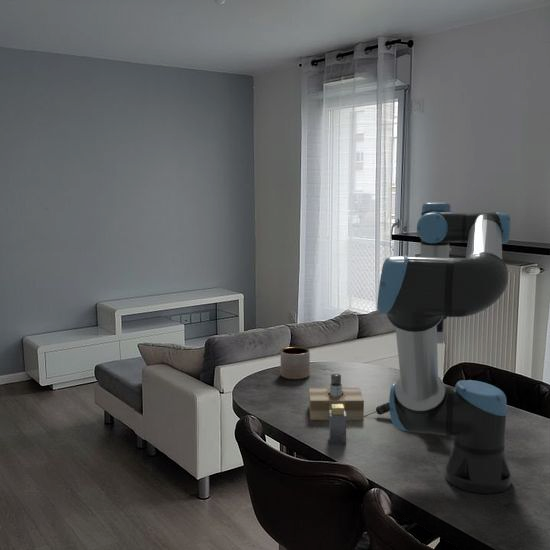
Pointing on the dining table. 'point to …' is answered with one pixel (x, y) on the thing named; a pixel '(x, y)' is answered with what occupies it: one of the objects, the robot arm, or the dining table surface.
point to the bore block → (323, 403)
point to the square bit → (337, 424)
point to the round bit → (336, 385)
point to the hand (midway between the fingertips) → (432, 336)
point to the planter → (295, 363)
